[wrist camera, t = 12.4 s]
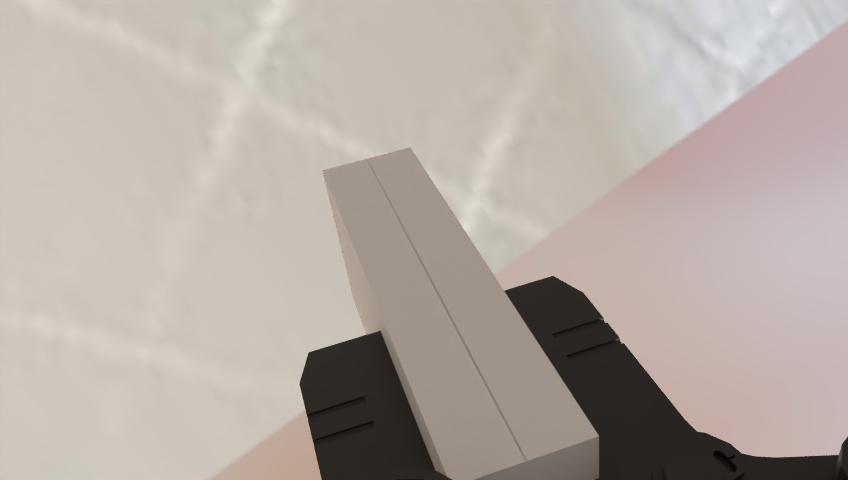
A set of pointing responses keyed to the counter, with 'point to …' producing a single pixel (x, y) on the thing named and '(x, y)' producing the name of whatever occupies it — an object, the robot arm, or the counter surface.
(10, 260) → the counter surface
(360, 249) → the robot arm
